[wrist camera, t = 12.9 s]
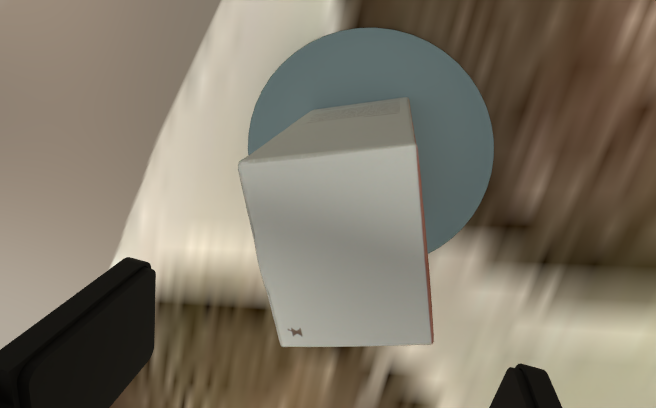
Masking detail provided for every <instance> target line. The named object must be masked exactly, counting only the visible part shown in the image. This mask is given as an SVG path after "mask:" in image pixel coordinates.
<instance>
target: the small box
mask: <svg viewBox="0 0 656 408" xmlns="http://www.w3.org/2000/svg"><path fill="white" fill-rule="evenodd" d="M238 171H239V175H240V180H241V185H242V189H243V193H244V198H245V202H246V207H247V212H248V216H249V220H250V224H251V229H252V233H253V237H254V242H255V248H256V254H257V260H258V264H259V268H260V272H261V275H262V279H263V282H264V286H265V288H266V291H267V294H268V298H269V302H270V306H271V309H272V313H273V318H274V321H275V325H276V329H277V333H278V337H279V341H280V344H281V346H282V347H342V346H398V345H431V344H433V341H434V334H433V319H432V304H431V289H430V275H429V263H428V252H427V240H426V229H425V218H424V208H423V199H422V185H421V174H420V165H419V156H418V147H417V144H416V139H415V134H414V127H413V122H412V116H411V110H410V102H409V98H408V97H403V98H396V99H389V100H381V101H374V102H367V103H360V104H352V105H345V106H338V107H330V108H323V109H316V110H312V111H310V112H309V113H307V114H306V115H304V116H303V117H301V118H300V119H298V120H297V121H296V122H294V123H293V124H292V125H290V126H289V127H288V128H286V129H285V130H284V131H282V132H281V133H279V134H278V135H277V136H275V137H274V138H272V139H271V140H270V141H268V142H267V143H266V144H264V145H263V146H262V147H260V148H259V149H257V150H256V151H254V152H253V153H252V154H250V155H249V156H247V157H246V158H244V159H243V160H241V161H239V164H238Z"/></svg>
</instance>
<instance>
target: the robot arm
mask: <svg viewBox="0 0 656 408" xmlns="http://www.w3.org/2000/svg"><path fill="white" fill-rule="evenodd" d="M155 279H156V274H155V271H154V270H153V269H151V265H150V263H148V262H145V261H141V260H137V259H134V258H130V257H127V258H125V259H123V260H122V261H120V262H119V263H117V264H116V265H115V266H113V267H112V268H111V269H109V270H108V271H107V272H105V273H104V274H103V275H101V276H100V277H98V278H97V279H96V280H94V281H93V282H92V283H90V284H89V285H88V286H86V287H85V288H84V289H82V290H81V291H80V292H78V293H77V294H76V295H74V296H73V297H71V298H70V299H69V300H67V301H66V302H65V303H63V304H62V305H60V306H59V307H58V308H57V309H55V310H54V311H52V312H51V313H50V314H48V315H47V316H46V317H44V318H43V319H42V320H40V321H39V322H37V323H36V324H35V325H33V326H32V327H31V328H29V329H28V330H27V331H25V332H24V333H23V334H21V335H20V336H18V337H17V338H16V339H14V340H13V341H12V342H11V343H9V344H8V345H6V346H5V347H4V348H2V349H1V350H0V408H109V407H110V406H111V405H112V404H113V403H114V401H115V400H116V399H117V398H118V397H119V395H120V394H121V393H122V392H123V391H124V389H125V388H126V387H127V386H128V385H129V383H130V382H131V381H132V380H133V379H134V377H135V376H136V375H137V374H138V373H139V371H140V370H141V369H142V368H143V367H144V365H145V364H146V363H147V362H148V360H149V359H150V357H151V355H152V353H153V350H154V328H155ZM489 408H562V406H561V404H560V401H559V399H558V397H557V395H556V392H555V390H554V388H553V385H552V383H551V381H550V378H549V376H548V374H547V373H546V371H544V370H542V369H539V368H535V367H531V366H528V365H524V364H518V365H517V366H516V367H515V368H512V367H510V368H509V369H508V370H507V371H506V374H505V376H504V378H503V380H502V382H501V384H500V386H499V388H498V391H497V393H496V395H495V397H494V399H493V401H492V403H491V405H490V407H489Z"/></svg>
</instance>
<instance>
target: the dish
mask: <svg viewBox="0 0 656 408" xmlns="http://www.w3.org/2000/svg"><path fill="white" fill-rule="evenodd" d="M403 97H408V98H409V102H410V110H411V116H412V122H413V127H414V134H415V139H416V144H417V147H418V156H419V165H420V174H421V185H422V199H423V208H424V218H425V229H426V240H427V252H428V253H430V252H432V251H434V250H436V249H437V248H439V247H441V246H442V245H443V244H445V243H446V242H447V241H449V240H450V239H451V238H453V237H454V236H455V235H456V234H457V233H458V232H459V231H460V230H461V229H462V228H463V227H464V226H465V224H466V223H467V222H468V221H469V219H470V218H471V217H472V216H473V214H474V212H475V211H476V209H477V208H478V206H479V204H480V203H481V200H482V198H483V196H484V194H485V191H486V189H487V186H488V183H489V179H490V176H491V172H492V165H493V158H494V139H493V132H492V125H491V121H490V117H489V114H488V111H487V107H486V105H485V103H484V101H483V99H482V96H481V94H480V92H479V90H478V89H477V87H476V86H475V84H474V83H473V81H472V80H471V78H470V76H469V75H468V74H467V73H466V72H465V71H464V70H463V69H462V67H461V66H460V65H459V64H458V63H457V62H456V61H455V60H453V59H452V58H451V57H450V56H449V55H447V54H446V53H445V52H444V51H442V50H441V49H439V48H437V47H436V46H434V45H433V44H431V43H429V42H427V41H425V40H423V39H420V38H418V37H416V36H414V35H411V34H407V33H404V32H400V31H396V30H390V29H382V28H356V29H350V30H344V31H339V32H336V33H333V34H330V35H327V36H324V37H322V38H320V39H317V40H315V41H313V42H311V43H309V44H307V45H306V46H304V47H303V48H301V49H300V50H298V51H297V52H295V53H294V54H293V55H292V56H291V57H289V58H288V59H287V60H286V61H285V62H284V63H283V64H282V65H281V66H280V67H279V68H278V69H277V70H276V72H275V73H274V74H273V75H272V76H271V78H270V79H269V81H268V82H267V84H266V85H265V87H264V89H263V90H262V92H261V94H260V97H259V99H258V101H257V103H256V105H255V109H254V112H253V115H252V118H251V123H250V129H249V136H248V155H250V154H252V153H253V152H254V151H256V150H257V149H259V148H260V147H262V146H263V145H264V144H266V143H267V142H268V141H270V140H271V139H272V138H274V137H275V136H277V135H278V134H279V133H281V132H282V131H284V130H285V129H286V128H288V127H289V126H290V125H292V124H293V123H294V122H296V121H297V120H298V119H300V118H301V117H303V116H304V115H306V114H307V113H309V112H310V111H312V110H316V109H323V108H330V107H338V106H345V105H352V104H360V103H367V102H374V101H381V100H389V99H396V98H403Z"/></svg>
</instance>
